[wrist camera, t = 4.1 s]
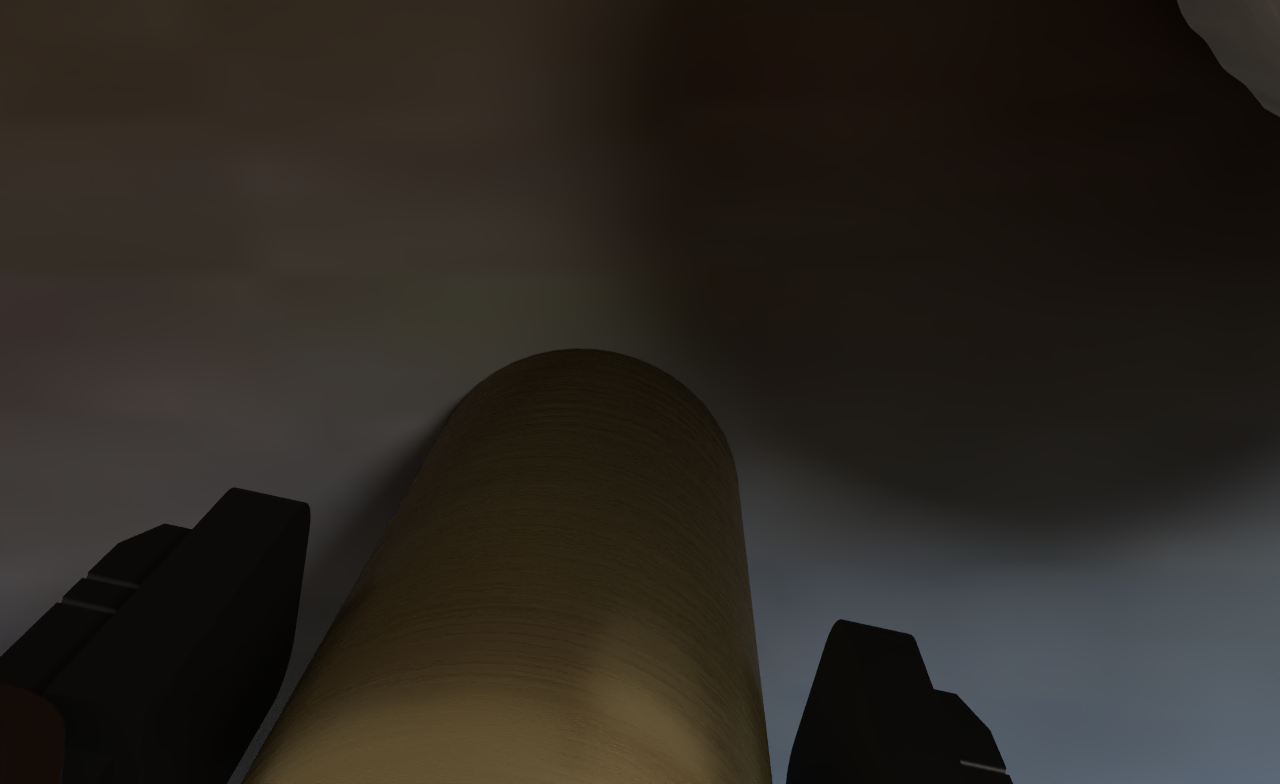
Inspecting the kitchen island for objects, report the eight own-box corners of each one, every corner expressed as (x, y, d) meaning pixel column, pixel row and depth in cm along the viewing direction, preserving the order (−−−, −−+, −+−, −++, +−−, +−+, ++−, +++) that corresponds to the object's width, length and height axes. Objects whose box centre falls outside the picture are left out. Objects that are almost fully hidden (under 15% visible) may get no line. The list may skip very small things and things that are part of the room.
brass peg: (457, 317, 14) (-26, 978, 4) (772, 387, 14) (958, 1176, 5) (408, 598, 15) (-47, 1573, 6) (698, 659, 15) (722, 1712, 6)
